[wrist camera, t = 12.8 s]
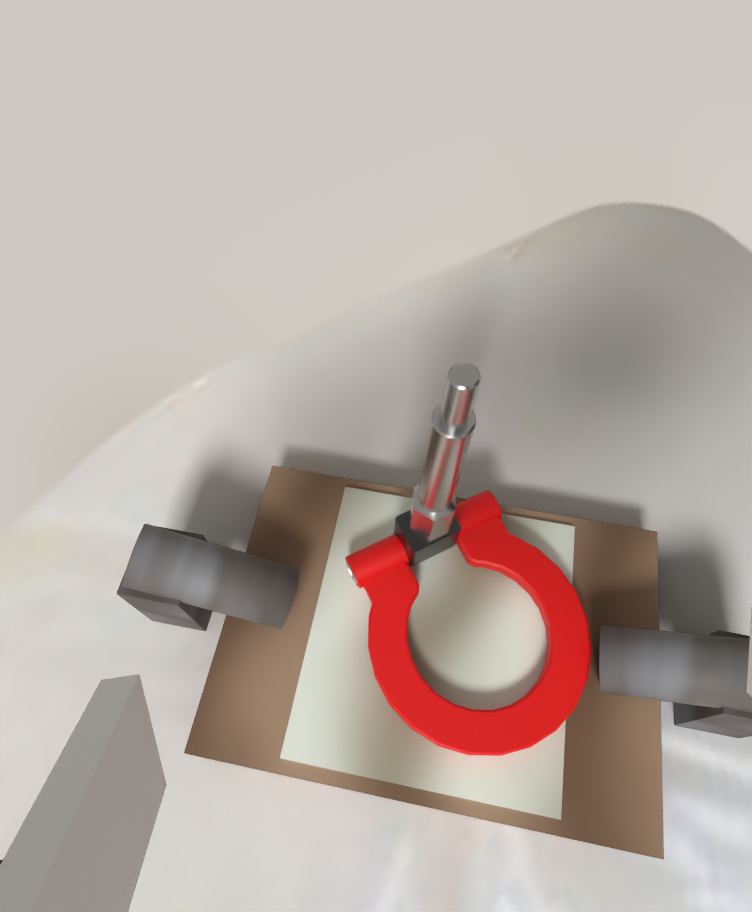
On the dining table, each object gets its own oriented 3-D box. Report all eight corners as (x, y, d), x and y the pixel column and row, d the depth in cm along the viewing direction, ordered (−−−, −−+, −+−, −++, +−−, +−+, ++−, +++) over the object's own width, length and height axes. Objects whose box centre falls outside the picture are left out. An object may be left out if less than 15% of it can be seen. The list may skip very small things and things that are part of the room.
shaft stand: (726, 558, 28) (802, 506, 23) (750, 878, 22) (857, 902, 17) (205, 468, 30) (170, 402, 25) (108, 736, 24) (37, 721, 19)
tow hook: (625, 689, 24) (499, 487, 27) (867, 622, 12) (593, 289, 16) (431, 800, 22) (324, 571, 26) (498, 847, 11) (285, 417, 14)
